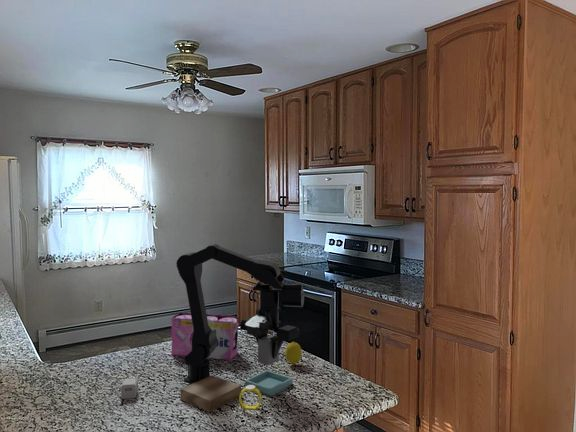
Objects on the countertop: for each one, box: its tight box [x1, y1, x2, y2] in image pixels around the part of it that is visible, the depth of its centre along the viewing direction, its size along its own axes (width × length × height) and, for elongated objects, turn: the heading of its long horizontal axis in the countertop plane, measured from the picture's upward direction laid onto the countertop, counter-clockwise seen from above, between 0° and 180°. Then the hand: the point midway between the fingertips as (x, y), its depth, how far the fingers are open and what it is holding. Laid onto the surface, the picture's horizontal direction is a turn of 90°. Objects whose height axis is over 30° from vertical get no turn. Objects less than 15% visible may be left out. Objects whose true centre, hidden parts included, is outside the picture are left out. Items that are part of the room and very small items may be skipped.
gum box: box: [170, 312, 240, 361], centre depth 162 cm, size 24×8×14 cm, turn 77°
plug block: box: [257, 334, 280, 366], centre depth 135 cm, size 4×5×7 cm
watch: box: [238, 385, 263, 410], centre depth 122 cm, size 6×3×6 cm, turn 85°
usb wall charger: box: [120, 377, 139, 400], centre depth 131 cm, size 4×7×4 cm, turn 11°
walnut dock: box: [179, 374, 242, 412], centre depth 128 cm, size 12×12×3 cm
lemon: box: [284, 341, 303, 366], centre depth 153 cm, size 6×6×8 cm
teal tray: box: [244, 369, 293, 397], centre depth 136 cm, size 10×10×2 cm
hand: (268, 356), depth 136 cm, fingers closed on plug block, 4 cm apart
